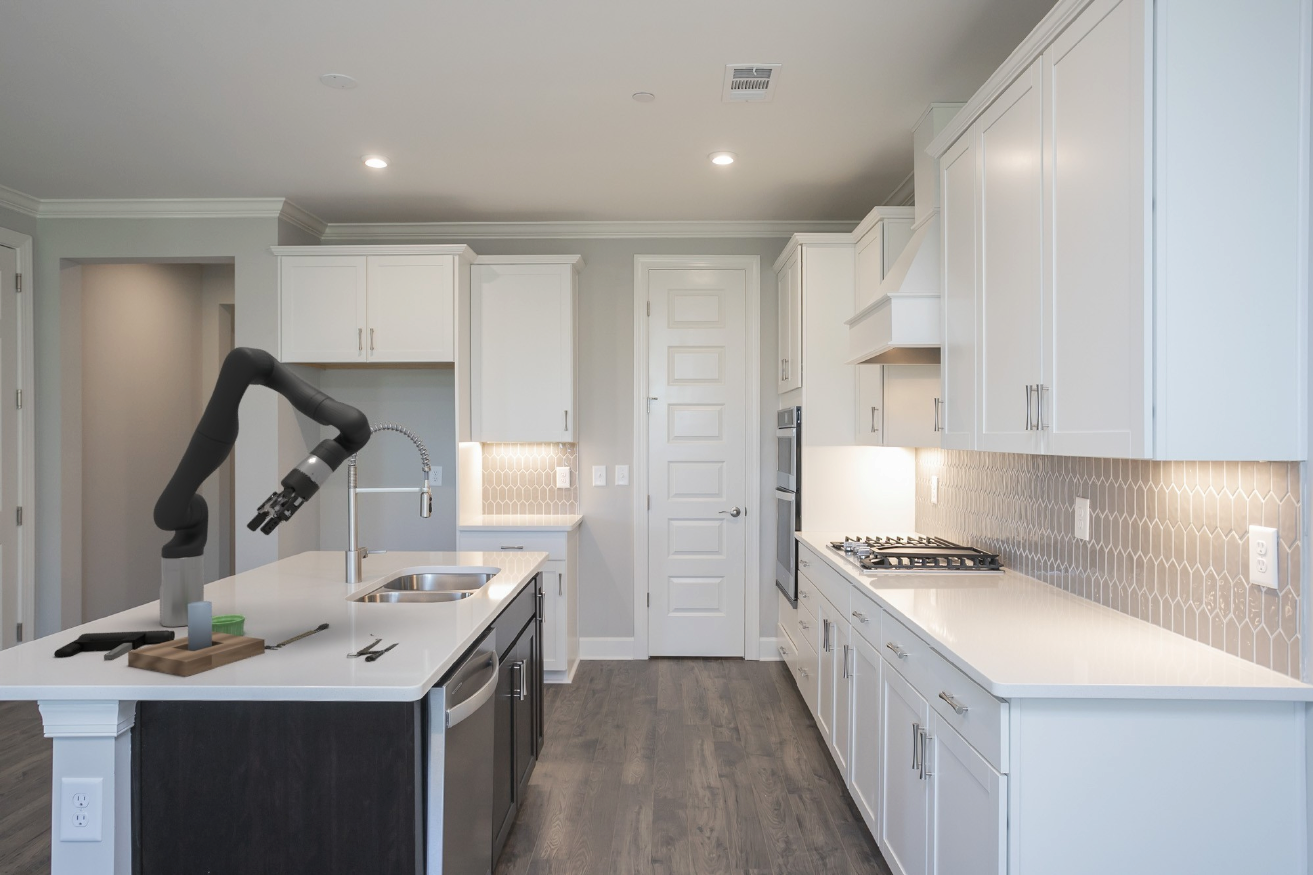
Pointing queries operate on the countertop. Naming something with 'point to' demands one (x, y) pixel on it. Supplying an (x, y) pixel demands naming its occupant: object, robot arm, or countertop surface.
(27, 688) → the countertop surface
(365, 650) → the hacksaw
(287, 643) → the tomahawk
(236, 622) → the ramekin
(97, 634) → the black angled piece
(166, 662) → the socket block
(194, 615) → the pin
